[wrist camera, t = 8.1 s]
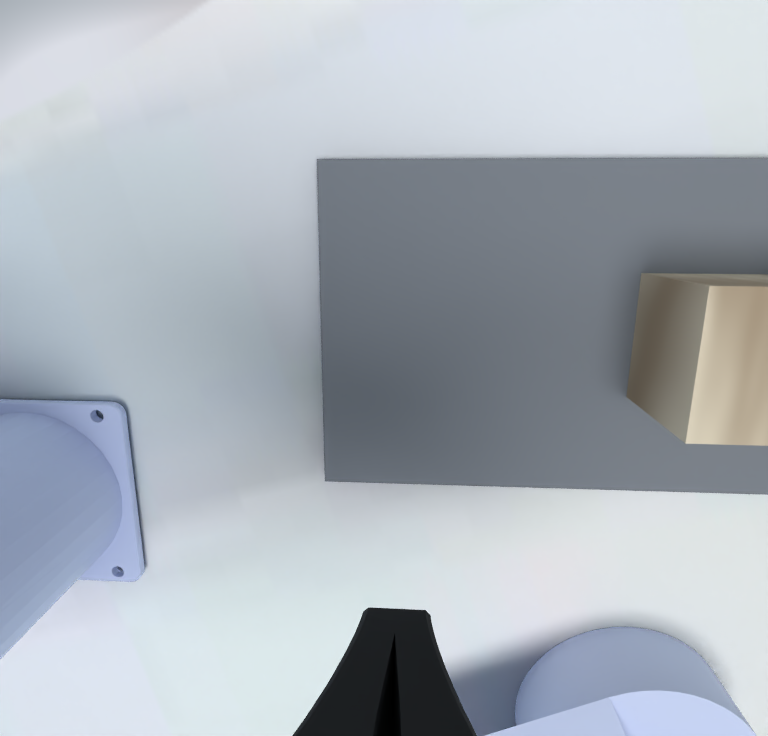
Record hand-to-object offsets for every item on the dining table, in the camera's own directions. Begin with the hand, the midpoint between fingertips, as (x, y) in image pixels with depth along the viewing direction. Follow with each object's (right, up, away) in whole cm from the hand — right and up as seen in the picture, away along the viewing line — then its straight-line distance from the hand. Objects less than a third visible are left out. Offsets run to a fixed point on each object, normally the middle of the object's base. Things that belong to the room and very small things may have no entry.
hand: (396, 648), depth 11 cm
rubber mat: (+8, +7, +8) cm, 14 cm away
